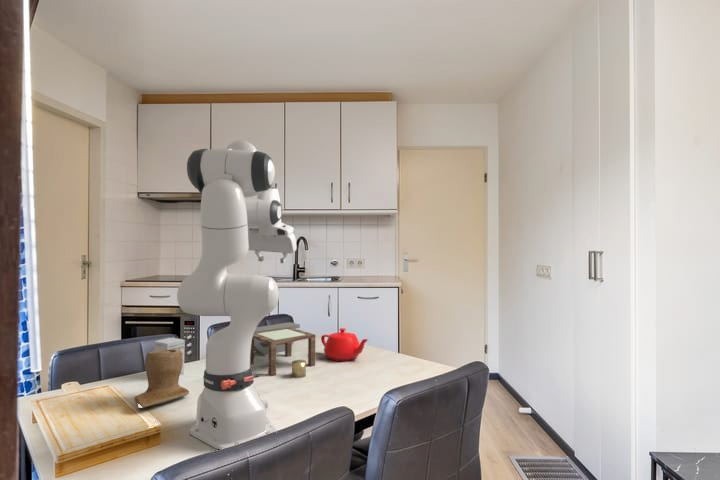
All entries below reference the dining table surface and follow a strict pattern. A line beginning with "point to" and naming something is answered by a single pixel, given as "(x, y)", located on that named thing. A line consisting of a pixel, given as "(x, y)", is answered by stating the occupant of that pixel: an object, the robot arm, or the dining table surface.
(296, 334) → the trapdoor
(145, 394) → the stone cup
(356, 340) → the teapot
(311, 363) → the frame
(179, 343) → the supplement box
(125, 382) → the dining table surface
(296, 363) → the cylinder
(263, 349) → the grey anvil
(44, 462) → the dining table surface
